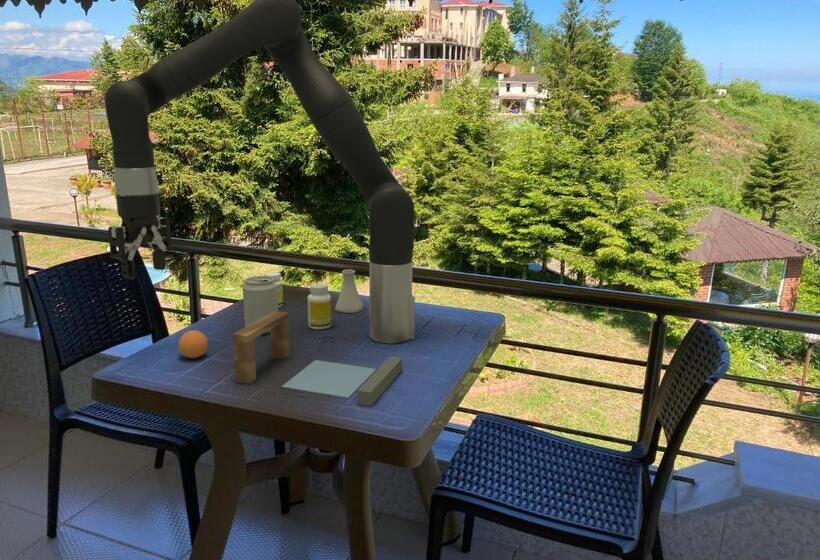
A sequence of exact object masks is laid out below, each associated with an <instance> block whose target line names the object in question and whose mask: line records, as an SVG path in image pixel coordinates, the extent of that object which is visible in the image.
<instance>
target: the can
mask: <svg viewBox="0 0 820 560" xmlns="http://www.w3.org/2000/svg"><path fill="white" fill-rule="evenodd" d="M273 280H274V278H272V277H269V276H264V275H254V276H250V277H249V276H248V277H247V278H245V280H244V284H243V285H242V300H243V302H242V303H243V315H244V317H243V319H244V328H245V327H246V326H248V325H250V324H252V323H254V322H256V321H257V320H259V319H261V318H263V317H265V316H266V315H268V314H270V313H272V312H274V311H279V307H278V299H277V284H276V283H275V282H274V281H273ZM269 333H270V334H271V331H270V330H268V331H266V332H265V333H263V334H269ZM263 334H262V335H263Z"/></svg>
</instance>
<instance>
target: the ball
mask: <svg viewBox="0 0 820 560" xmlns="http://www.w3.org/2000/svg"><path fill="white" fill-rule="evenodd" d="M208 345H209V342H208V339H207V337H206V335H205V334H204V333H203V332H201V331H199V330H188V331H186V332H184V333H183V334H182V335H181V336H180V338H179V339H178V350H179V352H180V354H181V355H183V356H184V357H186V358H188V359H198V358H199V357H201V356H203V355H204V354H205V353H206V351H207V350H208Z"/></svg>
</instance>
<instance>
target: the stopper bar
mask: <svg viewBox="0 0 820 560" xmlns="http://www.w3.org/2000/svg"><path fill="white" fill-rule="evenodd" d="M402 371H403V357H396V356H389V357H388V358H387V359H386V360H385V361H384V362H383V364H382V365H380V366H379V368H378V369H376V371H375V372H374V373H373V374H372V375H371V376H370V377H369V378H368V379H367V380H366V381H365V382H364V383H363V384H362V385H361V386H360V387H359V388H358V389H357V390H356V393H357V399H356V400H357V405H361V406H365V407H368V406H369V407H371V406H373V404H374V403H375V402H376V401H377V400H378V399H379V397H380V396H381V395H382V394H383V393H384V392H385V391H386V389H387V388H389V386H390V385H391V383H393V382H394V380H395V379H396V378H397V377H398V376H399V375H400V374H401V372H402Z"/></svg>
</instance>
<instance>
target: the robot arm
mask: <svg viewBox="0 0 820 560" xmlns="http://www.w3.org/2000/svg"><path fill="white" fill-rule="evenodd" d="M262 47H263V48H265V49H266V51H267V52H268V53H269V54H270V56H271V57H272V58H273V60H274V61H275V62H276V64H277V65H278V66H279V68H280V69H281V70H282V72H283V73H284V75H285V76H286V78H287V79H288V82H289V83H290V85H291V87H292V90H293V91H294V93H295V95H296V97H297V99H298V101H299V103H300V104H301V107H302V108H303V110H304V112H305V113H306V115H307V117H308V118H309V120H310V121H311V122H310V123H312V125H313V127H314V128H315V130H316V131H317V134H318V135H319V136H320V138H321V139H322V141H323V142H324V144H325V145H326V146H327V147H328V149H329V150H330V152H331V153H332V154H333V156H334V157H335V158H336V159H337V160H338V162H340V164H341V165H342V166H343V167H344V168H345V170H346V171H347V172H348V173H349V174H350V175H351V177H352V178H353V180H354V182H355V184H356V186H357V188H358V189H359V192H360V193H361V196H362V198H363V199H364V201H365V203H366V206H367V209H368V212H369V250H368V253H369V255H368V258H369V261H368V263H369V265H368V267H369V272H368V273H369V274H368V275H369V327H368V328H369V338H370V339H371V340H373V341H375V342H377V343H383V344H397V343H399V344H400V343H403V342H407V341H409V340H414V339H415V311H416V310H415V305H416V302H415V301H416V300H415V299H416V298H415V296H414V295H413V256H414V253H413V252H414V245H415V220H416V219H415V216H416V215H415V203H414V200H413V198H412V197H411V196H410V195H411V194H409V193H408V191H407V190H406V189H405V188H404V187H403V185H401V184H400V183H399V181H398V180H397V178H396V177H395V176H394V175H393V173H392V172H391V170H390V169H389V168H388V166H387V165H386V163H385V162H384V161H383V158H382V157H381V155H380V152H379V151H378V148H377V146H376V144H375V141H374V139H373V137H372V135H371V134H372V133H371V132H370V130H369V128H368V125H367V124H366V122H365V120H364V117H362V115H361V113H360V112H359V109H358V108H357V106H356V104H355V103H354V102H353V99H351V96H350V95H349V93H347V91H346V90H345V88H344V87H343V86H342V84H341V83H340V81H338V79H336V77H334V76H333V74H332V73H331V72H330V71H329V70H328V69H327V68H326V67H325V66H324V64H323V63H322V62H321V60H320V59H319V58H318V56H317V54H315V51H314V50H313V47H312V46H311V44H310V42H309V41H308V39H307V37H306V34H305V32H304V31H303V28H302V11H301V7H300V5H299V3H298V1H296V0H253V1H252V2H251V3H250V4H248V6H246V7H245V8H244V9H243V10H241V11H240V12H239V13H238V14H236V15H235V16H233V17H232V18H231V19H229V20H228V21H226V22H225V23H224V24H222V25H221V26H220V27H218V28H216V29H214V30H213V31H211V32H209V33H207V34H205V35H204V36H202V37H200V38H198V39H197V40H195V41H193V42H191V43H189V44H187V45H185V46H183V47H182V48H179V49H178V50H176V51H174V52H172V53H170V54H168V55H167V56H165V57H163V58H162V59H159V60H158V61H156V62H155V63H153V64H152V65H151V66H150V67H149V69H147V70H146V71H144V72H142V73H139V74H138V75H136V76H135V77H132V78H130V79H129V80H118V81H116V82H114V83H111V85H110V86H109V87H108V88H107V89H106V92H105V97H104V107H105V108H104V109H105V113H106V119H107V123H108V128H109V132H110V133H109V134H110V136H111V142H112V143H111V145H112V158H113V167H114V175H113V176H114V177H113V183H114V190H115V191H114V192H115V199H116V210H117V215H118V216H119V217H120V218H121V224H120V225H119V226H109V227H108V228H107V230H108V231H107V232H108V233H107V234H108V242H109V244H108V245H109V255H110V258H111V259H116V260H119V261H120V265H121V267H120V268H121V274H122V276H123V278H124V279H125V280H134V279H136V267H135V260H134V258H135V257H134V256H135V255H136V251H138V250H139V249H140V247H141V245H144V244H148V245H149V246H150V248H151V249H152V251H151V252H152V264H153V269H154V270H156V271H163V270H165V268H166V257H165V256H166V255H165V252H166V250H167V248H168V247H171V246H172V231H171V223H170V218H169V217H163V216H159V215H160V214H161V207H160V196H159V184H158V175H157V171H156V167H155V157H154V154H155V153H154V147H153V142H152V140H151V137H150V131H149V130H150V129H149V119H148V118H149V117H148V116H149V115H151V114H153V113H155V112H156V111H157V110H159V109H160V108H162V107H163V106H165V105H166V104H168V103H169V102H170V101H172V100H175V99H178V98H179V97H182V96H184V95H186V94H188V93H189V92H191V91H194V90H195V89H197V88H198V87H200V86H202V85H203V84H205V83H206V82H208V81H210V80H211V79H213V78H214V77H216V75H218V74H219V73H221V72H222V71H223V70H224V69H226V68H227V67H228V66H230V65H231V64H233V63H234V62H235V61H237V60H239V59H240V58H243V56H245V55H247V54H249V53H251V52H253V51H255V50H257V49H260V48H262ZM164 238H165V239H164Z"/></svg>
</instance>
